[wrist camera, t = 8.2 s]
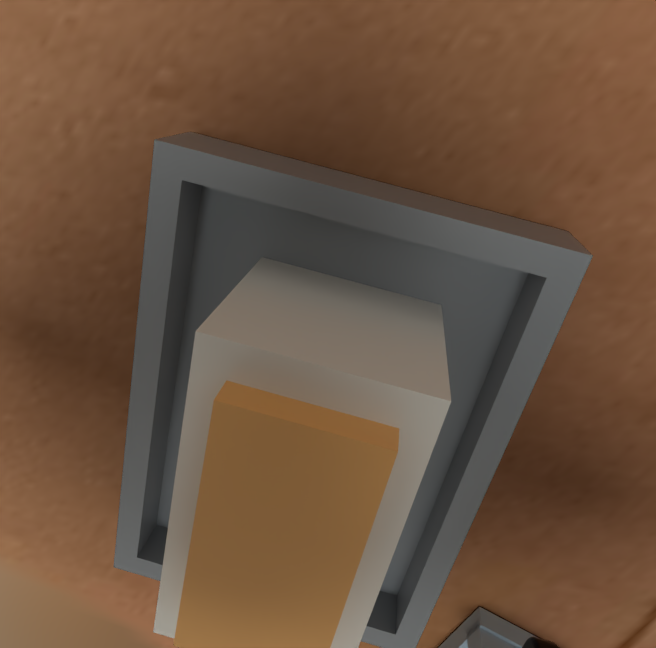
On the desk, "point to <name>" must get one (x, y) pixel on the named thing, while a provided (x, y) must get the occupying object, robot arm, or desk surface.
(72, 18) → the desk surface
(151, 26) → the desk surface
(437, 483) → the grey rectangular tray
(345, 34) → the desk surface
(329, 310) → the white orange block
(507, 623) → the clip
